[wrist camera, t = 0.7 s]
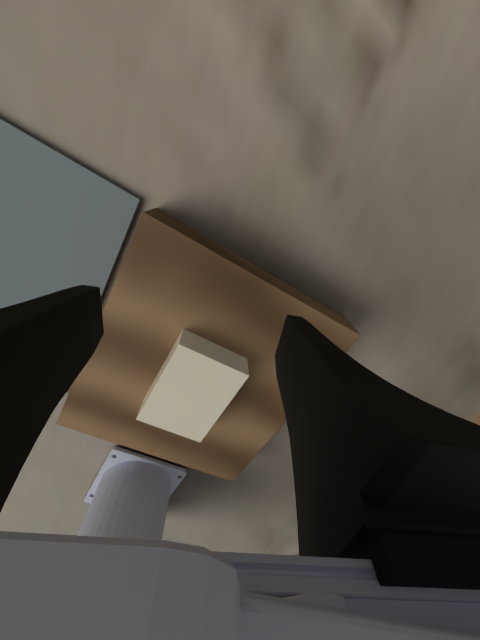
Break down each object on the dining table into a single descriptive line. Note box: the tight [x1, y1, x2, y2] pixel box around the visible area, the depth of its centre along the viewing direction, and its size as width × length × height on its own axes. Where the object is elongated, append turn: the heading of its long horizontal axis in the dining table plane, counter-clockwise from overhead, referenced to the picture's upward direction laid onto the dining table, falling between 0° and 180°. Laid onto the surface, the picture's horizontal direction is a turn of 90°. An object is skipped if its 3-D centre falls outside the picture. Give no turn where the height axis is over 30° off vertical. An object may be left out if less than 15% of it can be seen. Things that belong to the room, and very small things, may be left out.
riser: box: [56, 208, 361, 482], centre depth 22 cm, size 18×16×3 cm
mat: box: [0, 118, 141, 309], centre depth 19 cm, size 18×11×1 cm, turn 149°
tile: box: [136, 329, 249, 442], centre depth 19 cm, size 7×5×2 cm
